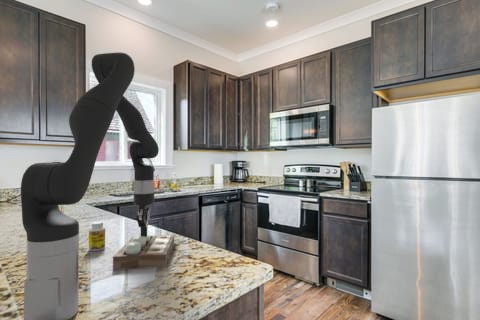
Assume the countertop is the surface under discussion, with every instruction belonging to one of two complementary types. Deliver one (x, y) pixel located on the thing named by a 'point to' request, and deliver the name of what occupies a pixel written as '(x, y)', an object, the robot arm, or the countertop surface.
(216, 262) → the countertop surface
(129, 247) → the button near
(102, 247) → the supplement bottle
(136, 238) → the button middle
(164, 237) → the brown wooden tray
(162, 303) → the countertop surface
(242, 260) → the countertop surface
